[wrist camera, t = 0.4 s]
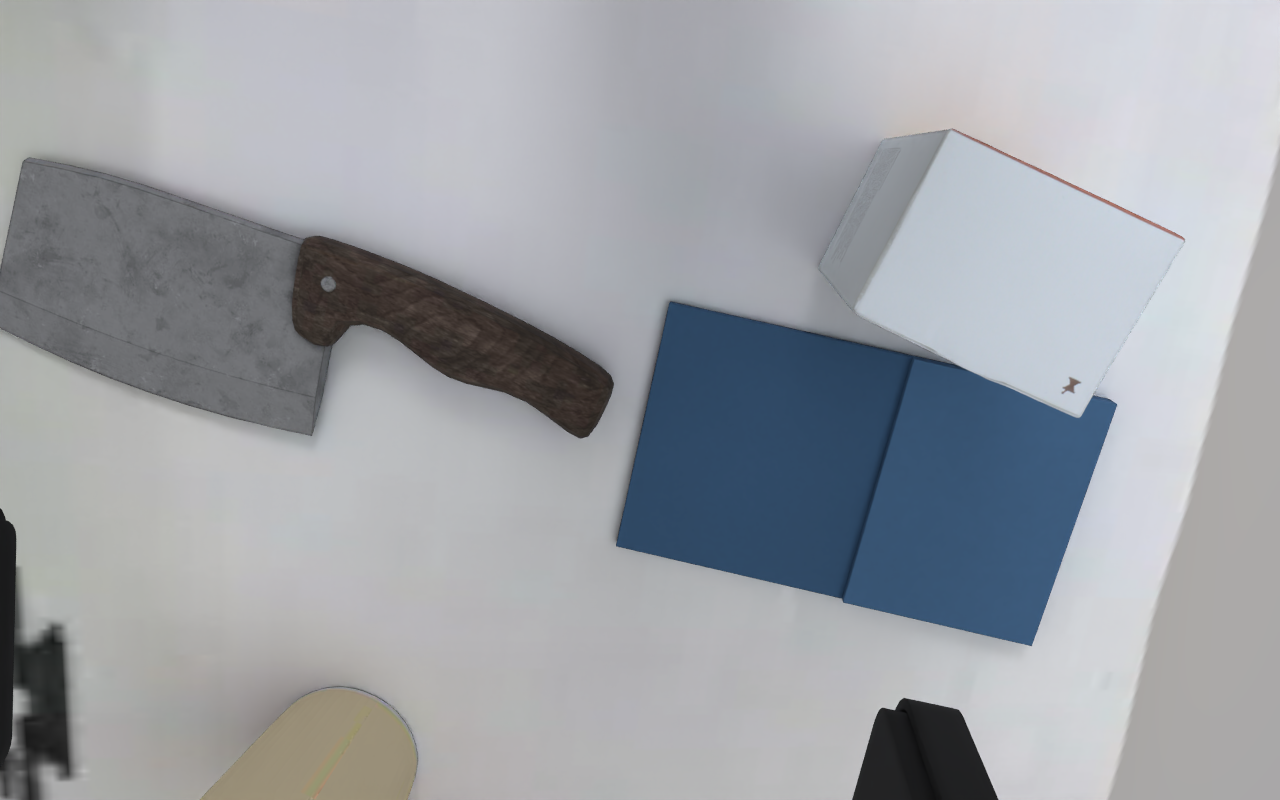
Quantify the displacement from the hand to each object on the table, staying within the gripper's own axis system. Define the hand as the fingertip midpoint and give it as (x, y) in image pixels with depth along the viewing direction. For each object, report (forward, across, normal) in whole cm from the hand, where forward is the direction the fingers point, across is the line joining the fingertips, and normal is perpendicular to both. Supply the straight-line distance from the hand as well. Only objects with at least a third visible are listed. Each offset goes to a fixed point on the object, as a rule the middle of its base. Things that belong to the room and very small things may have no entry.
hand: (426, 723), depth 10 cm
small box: (+35, -11, -4) cm, 37 cm away
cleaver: (+35, +16, +5) cm, 38 cm away
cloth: (+34, -11, +7) cm, 37 cm away
